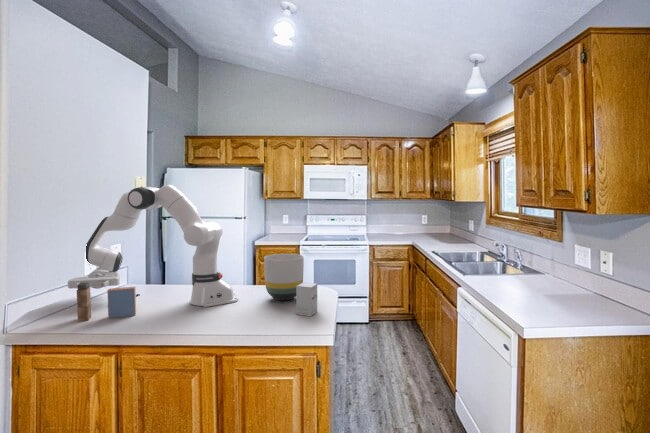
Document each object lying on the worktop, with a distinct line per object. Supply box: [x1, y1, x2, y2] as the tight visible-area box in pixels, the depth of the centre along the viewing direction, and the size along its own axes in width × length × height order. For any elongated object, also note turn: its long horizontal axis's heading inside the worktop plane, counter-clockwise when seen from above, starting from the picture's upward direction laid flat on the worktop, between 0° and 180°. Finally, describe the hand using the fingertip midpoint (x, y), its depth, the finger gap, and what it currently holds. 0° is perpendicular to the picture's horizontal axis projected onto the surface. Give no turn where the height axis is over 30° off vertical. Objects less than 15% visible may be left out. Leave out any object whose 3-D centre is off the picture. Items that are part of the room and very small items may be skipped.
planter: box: [263, 253, 305, 302], centre depth 172 cm, size 20×20×21 cm
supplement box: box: [295, 282, 318, 317], centre depth 151 cm, size 7×7×13 cm
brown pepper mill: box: [76, 282, 92, 323], centre depth 143 cm, size 4×5×15 cm
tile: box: [106, 286, 137, 320], centre depth 147 cm, size 10×3×12 cm, turn 111°
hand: (90, 285), depth 154 cm, fingers open, 8 cm apart
